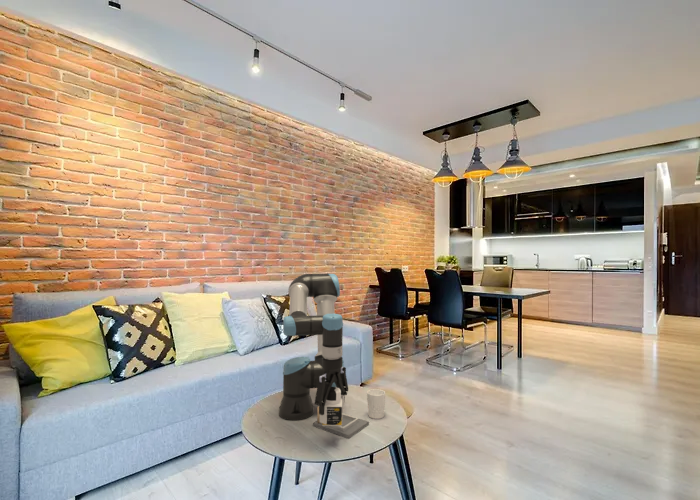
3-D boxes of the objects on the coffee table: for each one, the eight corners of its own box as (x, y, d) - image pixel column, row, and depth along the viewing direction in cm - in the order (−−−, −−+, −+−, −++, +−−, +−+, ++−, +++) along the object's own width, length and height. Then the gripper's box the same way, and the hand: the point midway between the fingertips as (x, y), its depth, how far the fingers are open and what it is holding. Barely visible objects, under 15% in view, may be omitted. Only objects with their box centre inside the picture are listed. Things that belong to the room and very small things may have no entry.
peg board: (312, 425, 142) (312, 407, 142) (334, 413, 153) (334, 396, 153) (348, 438, 131) (348, 419, 132) (368, 424, 143) (368, 406, 143)
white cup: (384, 420, 147) (384, 396, 147) (365, 418, 148) (365, 394, 148) (386, 412, 154) (386, 389, 155) (368, 411, 156) (368, 388, 156)
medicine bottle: (321, 425, 126) (322, 392, 126) (323, 416, 133) (323, 384, 133) (341, 426, 126) (342, 392, 126) (342, 416, 133) (342, 385, 133)
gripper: (320, 366, 118) (320, 433, 118) (357, 351, 136) (357, 409, 136) (304, 362, 123) (303, 426, 122) (342, 348, 141) (342, 404, 141)
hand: (332, 417), depth 129 cm, fingers closed on medicine bottle, 10 cm apart
